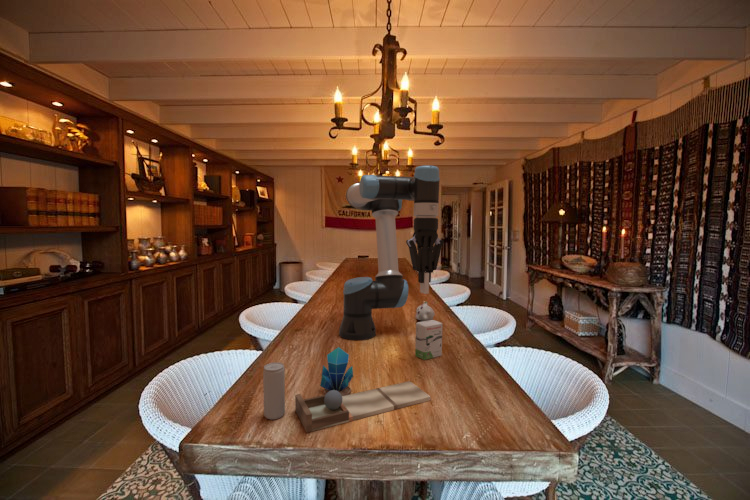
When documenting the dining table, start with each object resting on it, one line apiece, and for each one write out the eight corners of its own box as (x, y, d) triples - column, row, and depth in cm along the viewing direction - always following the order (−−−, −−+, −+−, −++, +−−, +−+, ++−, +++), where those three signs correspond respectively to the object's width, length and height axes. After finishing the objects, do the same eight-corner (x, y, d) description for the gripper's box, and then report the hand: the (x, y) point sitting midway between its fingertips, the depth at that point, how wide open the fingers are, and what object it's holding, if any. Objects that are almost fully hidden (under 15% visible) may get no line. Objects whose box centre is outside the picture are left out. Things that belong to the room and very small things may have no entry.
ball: (339, 393, 89) (326, 407, 87) (331, 383, 87) (317, 397, 85) (348, 402, 86) (335, 417, 84) (339, 391, 83) (326, 406, 82)
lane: (295, 410, 85) (295, 394, 85) (409, 384, 100) (410, 370, 100) (306, 432, 76) (306, 415, 76) (430, 400, 91) (430, 385, 91)
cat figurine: (420, 297, 173) (426, 300, 158) (434, 306, 173) (441, 310, 158) (410, 314, 173) (415, 319, 158) (424, 322, 173) (430, 328, 158)
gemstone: (323, 386, 98) (323, 344, 97) (353, 387, 98) (353, 345, 97) (317, 399, 91) (317, 354, 90) (351, 400, 91) (351, 355, 90)
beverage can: (266, 409, 85) (265, 362, 85) (286, 409, 86) (286, 361, 85) (261, 421, 81) (261, 370, 80) (282, 420, 81) (282, 370, 80)
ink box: (423, 360, 118) (424, 326, 117) (414, 355, 122) (415, 322, 121) (442, 355, 122) (443, 322, 121) (432, 351, 126) (433, 319, 126)
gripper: (414, 216, 101) (413, 297, 103) (450, 217, 107) (448, 293, 109) (401, 217, 108) (400, 292, 110) (435, 217, 114) (434, 289, 115)
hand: (424, 292), depth 109 cm, fingers closed
